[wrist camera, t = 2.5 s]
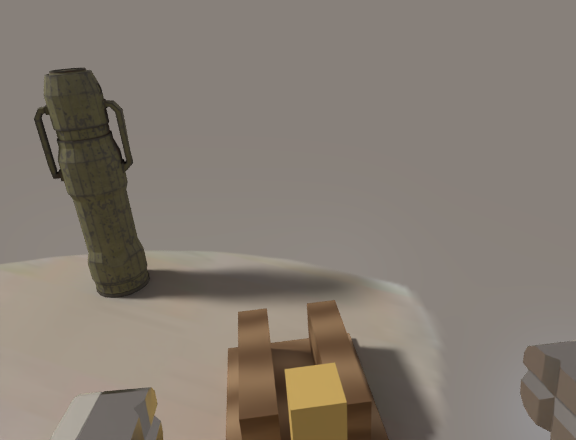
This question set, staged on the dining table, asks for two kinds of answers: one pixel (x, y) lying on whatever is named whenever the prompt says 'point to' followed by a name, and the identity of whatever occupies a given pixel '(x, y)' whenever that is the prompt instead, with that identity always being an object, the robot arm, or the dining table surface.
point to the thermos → (94, 177)
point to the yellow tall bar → (316, 403)
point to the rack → (272, 383)
